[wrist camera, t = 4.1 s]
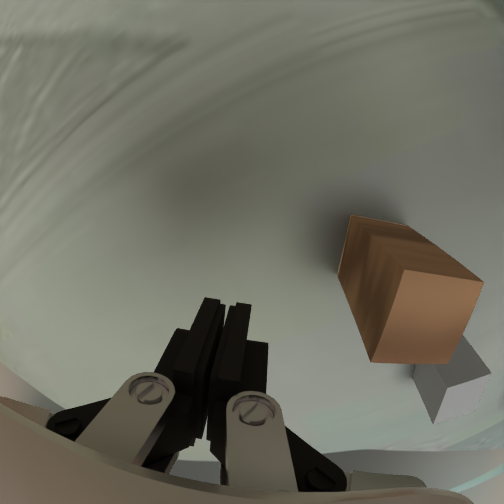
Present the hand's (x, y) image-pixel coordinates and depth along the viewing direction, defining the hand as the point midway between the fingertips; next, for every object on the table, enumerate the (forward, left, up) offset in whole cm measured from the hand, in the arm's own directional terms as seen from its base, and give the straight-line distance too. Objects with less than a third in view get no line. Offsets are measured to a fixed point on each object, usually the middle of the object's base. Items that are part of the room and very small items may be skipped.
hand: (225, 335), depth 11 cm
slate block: (+10, +20, -13) cm, 26 cm away
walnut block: (0, +9, -13) cm, 16 cm away
